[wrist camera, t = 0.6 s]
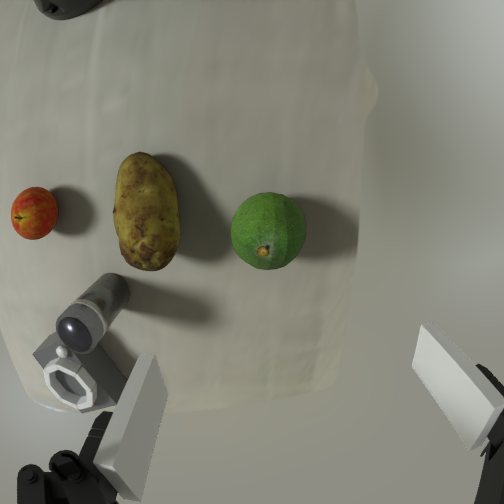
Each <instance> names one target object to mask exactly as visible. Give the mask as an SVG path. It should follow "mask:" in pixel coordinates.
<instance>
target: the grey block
mask: <svg viewBox="0 0 504 504" xmlns="http://www.w3.org/2000/svg"><path fill="white" fill-rule="evenodd" d="M33 356H34V357H35V358H36V360H37V361H38V362H39V364H40V365H41V366H42V368H43V369H44V377H45V384H47V385H46V386H47V387H48V388H49V389H50V390H51V391H52V393H53V394H54V395H55V396H56V397H57V398H58V399H59V400H61V402H63V403H65V404H67V405H69V406H72V407H74V408H76V409H79V410H80V411H81V413H85V412H90V411H94V410H98V409H102V408H106V407H110V406H114V405H117V403H118V401H119V399H120V396H121V394H122V392H123V390H124V388H125V385H126V383H127V381H128V380H127V379H126V378H125V377H124V375H123V374H122V373H121V372H120V371H119V369H118V368H117V367H116V366H115V364H114V363H113V362H112V361H111V359H110V358H109V357H108V356H107V354H106V353H105V352H104V350H103V349H102V348H101V346H100V345H99V344H98V343H97V345H96V346H95V348H94V349H93V350H92V351H91V352H90V353H88V354H79V353H76V352H74V351H72V350H70V349H69V348H68V347H66V346H65V345H64V344H63V342H62V341H61V340H60V338H59V336H58V334H57V332H55V333H53V334H51V335H49V336H48V338H47V339H46V340H45V341H44V342H43V343H42V344H41V345H40V346H39V347H38V349H37V350H36V351H35V352H34V353H33Z"/></svg>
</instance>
